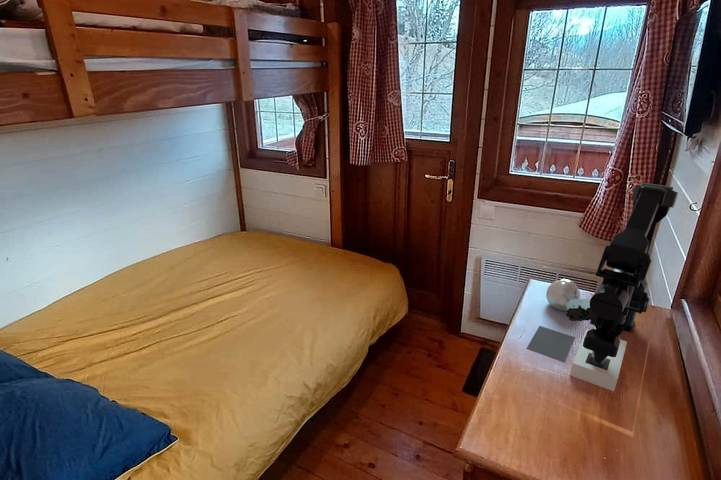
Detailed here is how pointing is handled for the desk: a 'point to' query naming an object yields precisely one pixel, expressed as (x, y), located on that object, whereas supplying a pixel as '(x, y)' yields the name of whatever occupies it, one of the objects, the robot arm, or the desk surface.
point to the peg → (600, 365)
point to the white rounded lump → (562, 293)
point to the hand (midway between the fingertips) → (598, 357)
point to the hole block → (595, 374)
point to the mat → (551, 343)
